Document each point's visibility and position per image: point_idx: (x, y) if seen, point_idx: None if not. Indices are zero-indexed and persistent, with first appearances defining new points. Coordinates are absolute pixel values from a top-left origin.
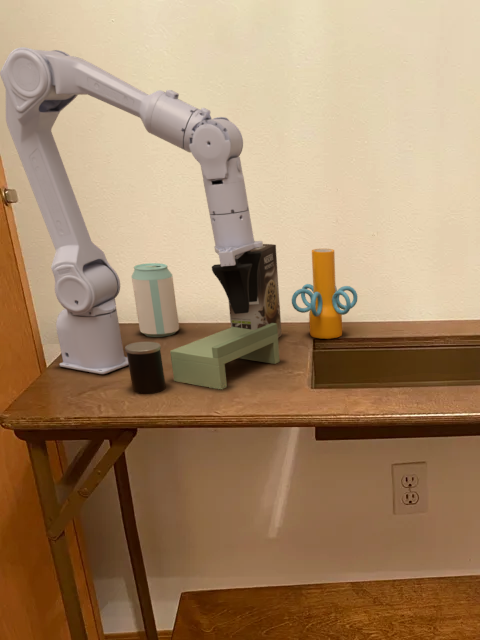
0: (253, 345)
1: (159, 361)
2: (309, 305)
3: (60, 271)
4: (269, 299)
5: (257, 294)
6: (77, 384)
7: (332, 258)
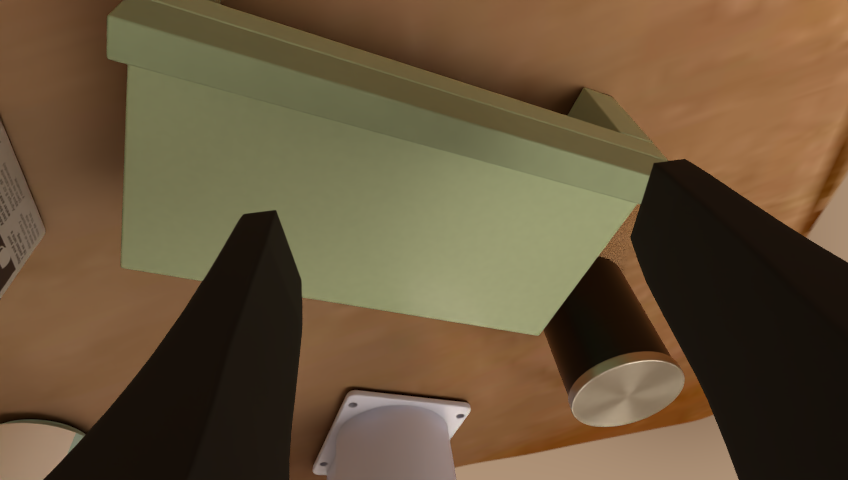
0: (408, 76)
1: (629, 323)
2: None
3: None
4: None
5: (245, 241)
6: (533, 411)
7: None
